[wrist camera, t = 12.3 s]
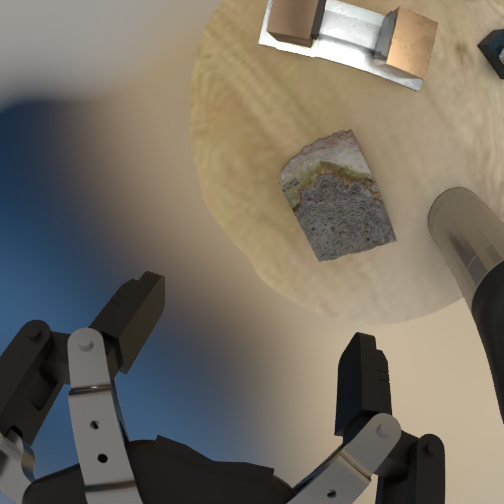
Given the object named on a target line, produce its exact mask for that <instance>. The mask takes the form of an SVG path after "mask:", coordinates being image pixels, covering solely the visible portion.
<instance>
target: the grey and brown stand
mask: <svg viewBox="0 0 504 504" xmlns="http://www.w3.org/2000/svg"><path fill="white" fill-rule="evenodd" d="M272 3H273V0H268V5H267V9H266V13H265V17H264V22H263V26H262V30H261V35H260V39H259V44H260V45H266V46H271V47H276V48H277V49H281V50H286V51H291V52H295V53H300V54H304V55H308V56H312V57H314V56H316V57H320V58H324V59H327V60H331V61H335V62H338V63H341V64H345V65H348V66H351V67H354V68H357V69H360V70H363V71H366V72H369V73H372V74H375V75H378V76H380V77H383V78H386V79H388V80H391V81H394V82H396V83H399V84H401V85H404V86H406V87H408V88H411V89H413V90H415V91H418V92H420V89H421V85H422V81H423V79H425V77H426V73H427V69H428V65H429V61H430V57H431V53H432V49H433V44H434V40H435V35H436V30H437V25H438V23H437V22H435V21H433V20H431V19H429V18H426V17H424V16H422V15H420V14H417V13H415V12H413V11H411V10H408V9H406V8H403V7H401V6H399V7H398V8H397V9H396V10H394V11H391V12H389V13H388V14H387V15H386V16H384V15H381V14H378V13H375V12H372V11H369V10H366V9H363V8H360V7H356V6H353V5H350V4H346V3H343V2H339V1H335V0H327V2H326V6H325V11H324V15H323V19H322V23H321V28H320V32H319V36H318V40H314V39H313V43H312V47H311V48H307V47H303V46H299V45H294V44H290V43H285V42H280V41H277V40H276V39H274V38H273V37H272V36H271V35H270V34H269V33H268V32H267V31H266V29H267V25H268V20H269V16H270V12H271V7H272Z"/></svg>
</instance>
